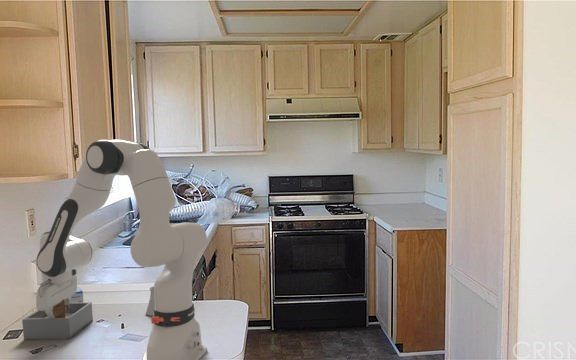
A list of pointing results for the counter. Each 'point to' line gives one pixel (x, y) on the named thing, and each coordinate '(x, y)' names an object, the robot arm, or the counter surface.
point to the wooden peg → (59, 310)
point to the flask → (151, 303)
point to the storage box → (58, 323)
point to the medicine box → (77, 296)
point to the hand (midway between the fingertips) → (58, 314)
